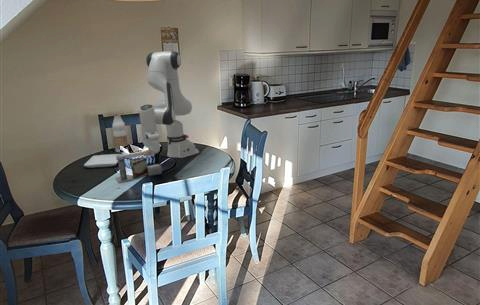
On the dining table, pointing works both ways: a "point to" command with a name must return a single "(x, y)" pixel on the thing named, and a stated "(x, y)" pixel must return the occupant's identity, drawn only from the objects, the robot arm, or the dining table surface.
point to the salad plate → (102, 161)
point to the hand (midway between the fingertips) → (152, 155)
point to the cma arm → (133, 155)
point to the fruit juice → (119, 132)
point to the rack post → (123, 173)
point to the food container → (138, 167)
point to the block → (153, 170)
